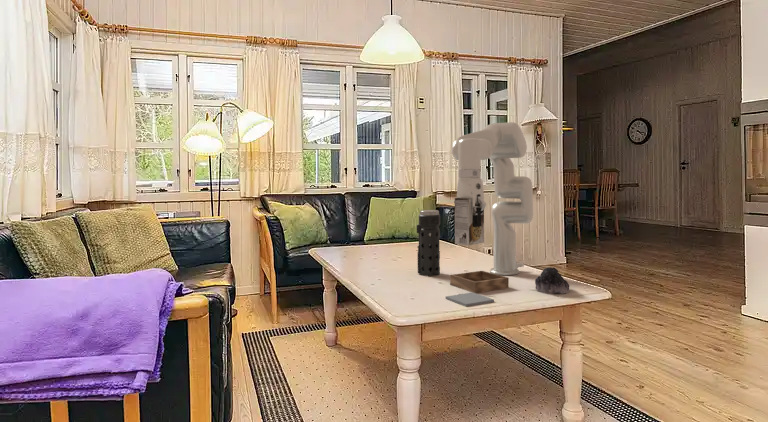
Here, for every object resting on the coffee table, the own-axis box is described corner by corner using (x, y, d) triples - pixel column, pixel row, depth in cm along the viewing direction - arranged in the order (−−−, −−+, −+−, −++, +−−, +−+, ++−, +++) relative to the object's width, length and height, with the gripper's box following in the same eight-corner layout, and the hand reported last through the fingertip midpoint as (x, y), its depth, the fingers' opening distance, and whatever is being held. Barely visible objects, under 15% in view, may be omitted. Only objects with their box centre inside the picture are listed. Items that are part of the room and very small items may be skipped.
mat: (472, 294, 186) (472, 292, 186) (494, 301, 175) (494, 299, 175) (445, 298, 180) (445, 296, 180) (465, 306, 169) (465, 304, 169)
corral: (482, 280, 209) (482, 270, 209) (508, 288, 195) (508, 277, 194) (450, 284, 202) (450, 274, 201) (475, 293, 187) (475, 282, 187)
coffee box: (469, 241, 181) (469, 196, 180) (484, 242, 177) (484, 196, 175) (454, 244, 175) (453, 197, 174) (469, 245, 170) (469, 198, 169)
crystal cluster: (554, 286, 199) (552, 261, 199) (579, 291, 186) (576, 264, 186) (527, 293, 194) (524, 267, 194) (550, 298, 181) (547, 270, 181)
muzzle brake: (417, 276, 218) (441, 276, 218) (417, 211, 216) (441, 211, 216) (416, 271, 228) (439, 271, 228) (415, 209, 225) (439, 209, 225)
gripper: (494, 174, 168) (494, 227, 169) (463, 174, 183) (463, 222, 185) (476, 175, 164) (476, 228, 166) (445, 174, 180) (446, 224, 181)
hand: (469, 225), depth 175 cm, fingers closed on coffee box, 7 cm apart
